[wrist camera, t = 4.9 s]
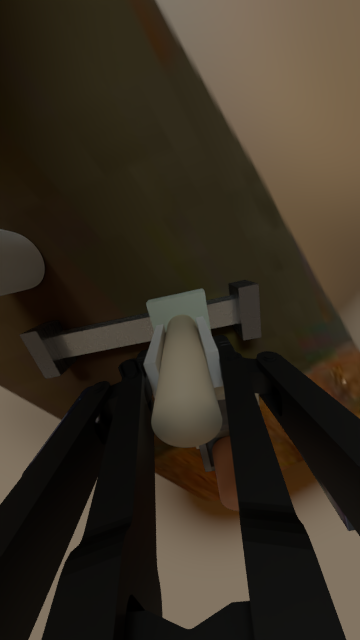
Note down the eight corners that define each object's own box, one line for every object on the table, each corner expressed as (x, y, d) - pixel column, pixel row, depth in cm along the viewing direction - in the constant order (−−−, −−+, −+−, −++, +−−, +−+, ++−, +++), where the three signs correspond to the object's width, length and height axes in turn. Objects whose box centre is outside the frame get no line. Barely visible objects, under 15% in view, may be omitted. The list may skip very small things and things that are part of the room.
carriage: (151, 296, 20) (94, 372, 7) (200, 285, 20) (247, 342, 6) (165, 346, 23) (144, 479, 9) (209, 337, 22) (258, 462, 8)
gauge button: (209, 438, 14) (216, 484, 11) (252, 431, 14) (272, 477, 11) (215, 466, 15) (223, 514, 12) (255, 460, 15) (273, 507, 12)
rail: (43, 323, 22) (19, 334, 18) (245, 279, 20) (258, 283, 17) (64, 362, 24) (45, 378, 20) (248, 325, 22) (261, 337, 19)
